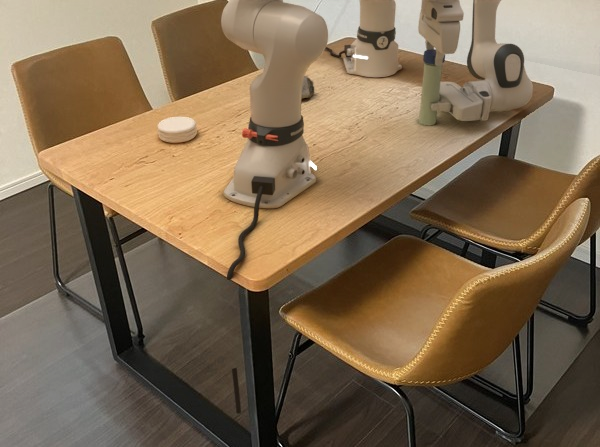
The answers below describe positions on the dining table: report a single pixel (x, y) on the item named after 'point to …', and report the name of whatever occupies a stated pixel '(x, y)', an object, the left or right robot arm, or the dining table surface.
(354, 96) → the dining table surface
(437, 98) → the green bottle
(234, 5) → the left robot arm
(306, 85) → the rock
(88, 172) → the dining table surface
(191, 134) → the white round tin
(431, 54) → the lid
